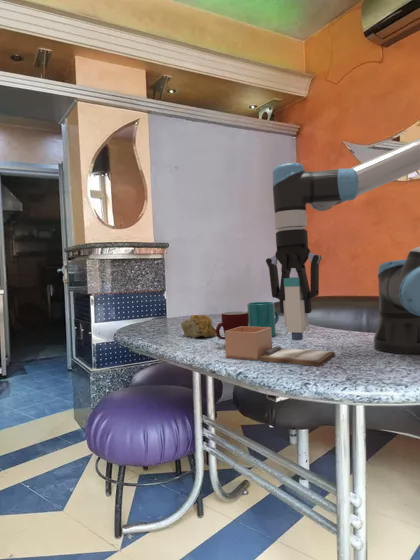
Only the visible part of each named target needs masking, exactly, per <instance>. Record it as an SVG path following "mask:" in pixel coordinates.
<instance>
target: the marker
mask: <svg viewBox="0 0 420 560" xmlns="http://www.w3.org/2000/svg"><path fill="white" fill-rule="evenodd" d="M284 287H285V303H286V320H287V327H286V332H287V333H291V340H292V341H303V339H304V338H303V336H304V335H303V333H304V332H305V331H307V328H308V327H305V328H302V320H301V302H300V300H303V299H302V298H303V295H302V290H301V286H300V278H299V277H298V276H297V277H290V278H284Z"/></svg>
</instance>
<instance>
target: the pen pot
mask: <svg viewBox="0 0 420 560" xmlns="http://www.w3.org/2000/svg"><path fill="white" fill-rule="evenodd" d="M224 337H225V340H224V344H225V345H224V346H225V358H226V359H235V360H236V359H238V360H248V359H249V360H248V361H260V360H259V359H260V357H261V356H264V355H266V351H267V350H269V349H272V348H273V337H272V330H271V327H250V326H240V327H237V328H234V329H230V330H227V331H225V335H224Z"/></svg>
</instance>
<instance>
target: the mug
mask: <svg viewBox="0 0 420 560" xmlns="http://www.w3.org/2000/svg"><path fill="white" fill-rule="evenodd" d="M248 323H249V316H248V311H243V310H241V311H240V310H239V311H225V312H222V313H221V322H220V323H218V324H217V326H216V328H215V330H216V335H215V336H216V337H218V339H220V340H224V341H225V331H227V330H230V329H234V328H237V327H240V326H248ZM221 328H223V334H224V336H221V333H220V330H221Z"/></svg>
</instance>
